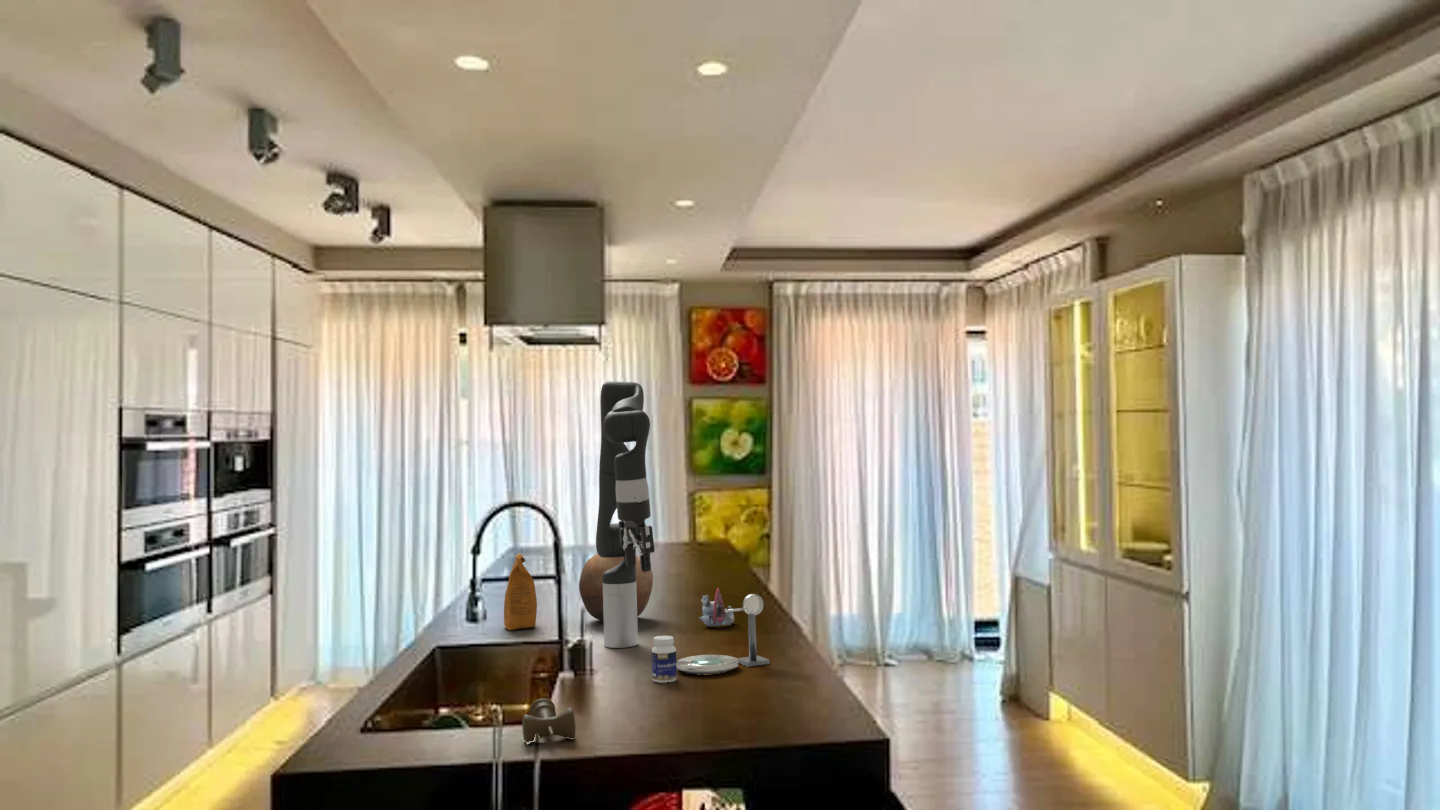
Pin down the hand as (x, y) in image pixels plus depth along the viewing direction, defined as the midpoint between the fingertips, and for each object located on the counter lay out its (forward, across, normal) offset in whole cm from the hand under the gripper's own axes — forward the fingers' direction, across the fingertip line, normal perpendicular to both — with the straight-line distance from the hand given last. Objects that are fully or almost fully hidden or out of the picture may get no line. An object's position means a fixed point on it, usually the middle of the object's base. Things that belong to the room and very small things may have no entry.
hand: (638, 568), depth 228 cm
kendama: (+23, +27, -33) cm, 49 cm away
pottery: (+33, -78, +24) cm, 88 cm away
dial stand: (+29, -3, +27) cm, 40 cm away
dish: (+28, -3, +17) cm, 33 cm away
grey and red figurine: (+33, -52, +46) cm, 77 cm away
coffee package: (+31, -88, -4) cm, 93 cm away
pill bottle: (+27, +1, +4) cm, 27 cm away
